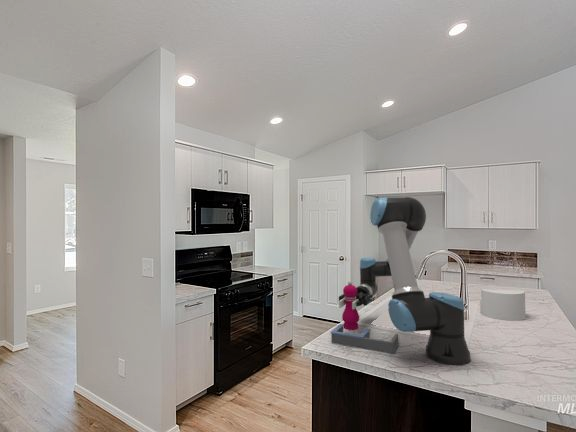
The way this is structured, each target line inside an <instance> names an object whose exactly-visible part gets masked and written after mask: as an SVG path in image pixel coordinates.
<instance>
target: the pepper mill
mask: <svg viewBox="0 0 576 432" xmlns="http://www.w3.org/2000/svg"><path fill="white" fill-rule="evenodd" d="M342 290H343V291H342V292H343V293H342V294H344V295H345V300H346V304H345V307H344V311H342V317H341V319H342V321H343V325H344V326H343V330H347V331H356V330H358V329H359V323H358V322H359V321H360V313H359V312H358V310H357V307H356V308H355V309H352V302H354V301H355V300H356V294H357V287H356V285H353V282H352V281H350V280H349V281H348V282H347V285H345V286H344V287H343V289H342Z"/></svg>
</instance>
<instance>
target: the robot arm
mask: <svg viewBox="0 0 576 432" xmlns="http://www.w3.org/2000/svg"><path fill="white" fill-rule="evenodd" d="M369 217H370V223H371V225H373V226H375V227H377V230H378V232H379V233H380V234H382V237H383V241H384V247H385V250H386V255H387V258H386V260H385V261H384V260H383V261H381V260H380V261H376V259H375V258H374V257H361V258H360V259H359V274H360V275H359V276H360V281H359V282H360V283H359V285H358V286H357V287H356V288H357V294H356V300H355V301H354V302H352V309H355V308H356V309H357V308H358V307H360V306H362V305H363V306H367V305H369V304H370V302H373V301H374V296H375V295H376V294H377V292H378V284H377V283H376V282H377V281H376V280H377V279H376V278H377V277H378V278H379V277H391V279H392V284H393V288H394V291H393V293H392V295H391V300H389V301H388V302H389V303H388V309H387V311H388V315H389V318H390V321H391V323H392V324H393V326H394V327H395V329H396V330H398V331H400V332H403V333H404V332H406V333H407V332H409V333H414V332H423V331H424V332H425V331H429V337H428V339H427V344H426V345H425V355H426V356H427V358H429V359H431V360H433V361H435V362H437V363H440V364H446V365H454V366H455V365H457V366H458V365H460V366H461V365H466V364H468V363H470V362H471V351H470V350H469V348H468V347H469V346H468V345H467V342H466V339H465V307H464V306H465V305H464V300H463V299H462V297H459V296H458V295H455V294H449V293H444V292H437V291H430V292H429V295H428V297H425V293H424V291H423V290H422V289H420V288H419V286H418V282H417V276H416V274H415V270H414V266H413V261H412V257H411V252H410V249H411V247H412V245H413V244H414V242H415V239H416V237H417V236H418V233H419V232H420V231H422V230H423V229H424V227H425V224H426V221H427V220H426V219H427V214H426V209H425V206H424V205H423V203H421V201H419V200H418V199H416V198H414V197H411V196H409V197H408V196H405V197H402V196H401V197H400V196H399V197H388V196H387V197H386V196H385V197H378V198H376V199H375V200H374V201H373V202H372V204H371V208H370V215H369ZM344 306H346V300H345V295H344V293H342V294H341V295H339V296H338V308H339V309H342V308H343V307H344Z"/></svg>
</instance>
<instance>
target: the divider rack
mask: <svg viewBox="0 0 576 432" xmlns="http://www.w3.org/2000/svg"><path fill="white" fill-rule="evenodd" d="M343 324H344V323H343ZM343 324H341V323H340V324H338V325H337V326H336V327H335V328H334V329H332V330H331V331H330V334H331V343H332V344H336V345H342V346H347V347H354V348H359V349H366V350H370V351H377V352H382V353H388V354H394V353H395V350H396V349H397V347H398V346H399V344H400V343H399V342H400V341H399V340H400V339H399V333H395V334H393V337H392V338H391V340H389V341H388V340H382V339H376V338H371V337H370V336H371V333H370V331H371V328H370V327H365V329H363V330H362V332H361V333H360V334H354V333H349V332H344V325H343Z"/></svg>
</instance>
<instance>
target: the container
mask: <svg viewBox="0 0 576 432" xmlns="http://www.w3.org/2000/svg"><path fill="white" fill-rule="evenodd" d="M479 305H480V308H479V310H480V312H479V313H480V314H481V316H484V317H487V318H491V319H493V320H498V321H509V322H517V321H521V322H522V321H523V320H526V291H525V290H523V289H484V288H483V289H480V301H479Z"/></svg>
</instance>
